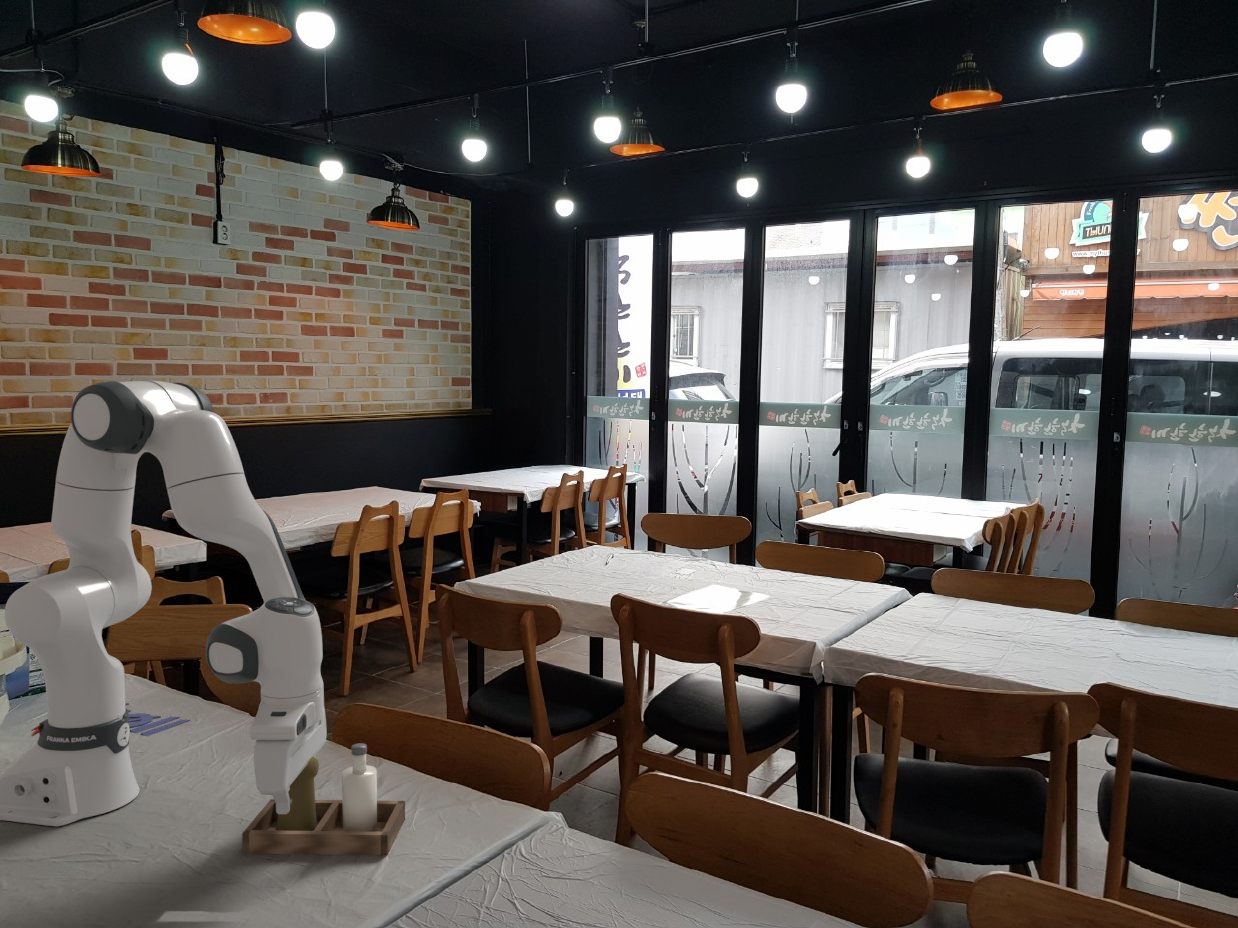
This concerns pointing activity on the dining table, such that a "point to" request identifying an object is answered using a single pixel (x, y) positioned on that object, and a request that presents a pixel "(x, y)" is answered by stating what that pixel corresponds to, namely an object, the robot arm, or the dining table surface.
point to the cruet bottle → (359, 793)
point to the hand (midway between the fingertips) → (295, 797)
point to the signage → (147, 719)
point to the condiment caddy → (324, 832)
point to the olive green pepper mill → (301, 802)
